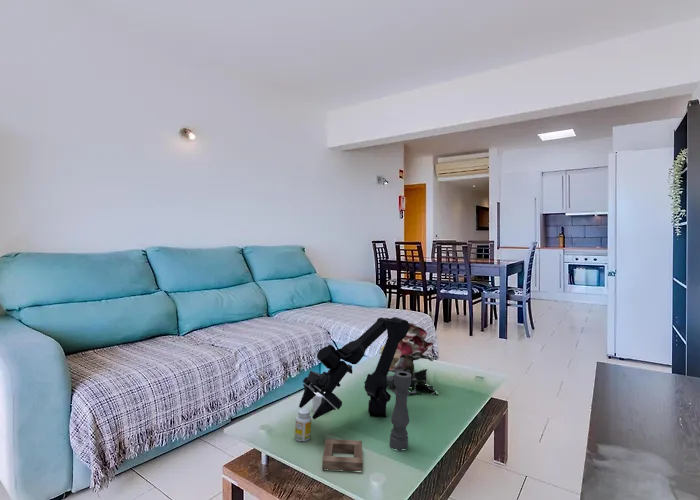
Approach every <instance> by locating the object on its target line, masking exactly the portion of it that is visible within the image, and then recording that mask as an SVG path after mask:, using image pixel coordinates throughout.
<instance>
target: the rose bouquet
mask: <svg viewBox="0 0 700 500" xmlns="http://www.w3.org/2000/svg"><path fill="white" fill-rule="evenodd" d="M408 323H409V325H410V328H409V331H408V333H407V335H406V336H405V338H403V339H402V340H401V341H400V342H399V344H398V347H397V350H396V352H395V355H394V358H393V360H392V363H391V366H390V368H389V371H388V374H387V388H388V389H389V390H390V391H391V392H392V393H394V390H395V389H396V387H395V384H394V375H389V372H390V373H391V372H392V373H395V372H397V371H405V372H408V373H410V374H411V385H410V387H412V390H413V391H412V392H409V393H410V394H418V393H419V392H420V390H419V391H418V390H417V387H416V386H421V387H426V388H427V389H428V390H431V391H432V392H431V393H430V395H436V394H435V393H436V392H435V391H436V390H435V389H433V387H434V386H432V385H431V386H427V385H425V384H426V382H427V371H428V368H427V369H425V368H423V369H420V370H419V371H415V363H414V361H418V360H422V359H423V360H424V359H425V360H428V361H430V362H434V359H433V358H431V357H430V356H429V355H425V354H424V353H426V352H428V353H429V352H431V350H429V348H430V347H431V346H434V342H430V341H426V338H427V336H428V334H429V333H428V332H427V331H426V330H425V329H424V328H423V327H420V326H419V325H416V324H417V323H413V322H408ZM384 346H385V344H384V345H382V347H380V353H379V354H380V355H379V358H380V357H381V354H382V351H383V349H384ZM427 383H428V382H427ZM410 394H409V395H410Z"/></svg>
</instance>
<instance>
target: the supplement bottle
mask: <svg viewBox="0 0 700 500" xmlns="http://www.w3.org/2000/svg"><path fill="white" fill-rule="evenodd" d="M310 414H311V411H310V409H309V408H306V407H302V408H299V409H298V411H297V415H296V417H295V428H294V430H295V431H294V438H295V440H296V441H298V442H301V441H303V442H306V441H307V442H308V440H310V438H311V434H312V430H311V429H312V416H311V415H310Z"/></svg>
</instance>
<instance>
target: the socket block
mask: <svg viewBox="0 0 700 500" xmlns="http://www.w3.org/2000/svg"><path fill="white" fill-rule="evenodd" d="M333 453H338V454H339V453H340V454H353V457H351V456H335V455H333ZM322 469H326V470H325V471H327V469H328V470H343V471H362V472H363V441H362V440H353V439H341V438H340V439H337V438H334V439H333V438H325V442H324V449H323V457H322V468H321V470H322ZM343 471H342V472H343Z"/></svg>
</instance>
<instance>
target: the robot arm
mask: <svg viewBox="0 0 700 500" xmlns="http://www.w3.org/2000/svg"><path fill="white" fill-rule="evenodd" d="M409 323H410V322H409V321H408V320H406V319H402V318H401V317H397V316H394V317H391V318H390V317H378V318H377V320H376V321H375V322H374V323H373V324H372V325H370V327H368V329H367V330H366V331H365V332H364V333H362V334H361V335H360V336H359V337H357V339H355V340H351V341H349V342H347V343H346V344H345V345H343V346H342V347H341V348H337V349H336V348H335V346H333V345H332V344H328V345H327V346H324V347H322V348H320V349H319V351H318V352H317V354H316V358H317V360H318V361H319V362H320V363H321V364H322V365H323V366H324V367H325V368H326V369H328V370H327V371H323V372H322V373H319V372H316V371H313V370H310V371H309V372H308V376H305V377H304V379H303V380H302V381H301V382H302V383H303V384H302V386H303V394H302V397H301V400H300V401H299V405H298V407H299V409H301V408H304V406H306V405H307V404H308V403H309V402H310V401H311V400H312V398H313V397H315V396H316V394H315V393H317V392H318V393H320V394H321V395H322V396H324V397H325V398H326V400H325V399H324V398H323V397H322V401H321V404H320V406H319V407H318V409H317V410H316V412H313V415H312V416H311V419H313V420H316V419H318V418H320V417H321V416H323V415H325V414H327V413H329V412H332V411H336V410H340V408H341V407H343V401H342V399H340V398H339V396H337V395H336V394H335V393H333V391H335V389H336V388H337V387H338V388H339V387H340V386H341V384H340V383H341V382H342V380H343V378H344V377H345V376H346V374H347V373H349V374H351V375H352V374H353V365H357V364H359V362H360V361H361V360H362V358H364V357H365V353H366V350H367V349H368V348H369V347H370V346H371V345H372V344H373V343H374V342H375V341H376V340H377V339H379V337H380V336H381V335H382V334H383V333H384V332H386V333H387V338H386V342H385V343H384V345H385V346H384V345H383V346H384V349H383V351H382V354H380V356H381V357H380V356H379V360H378V362H377V365H376V367H375V370H374V372H372V373H368V374H367V375H366V379H365V381H364V386H363V387H364V388H363V389H364V391H365V392H366V396H367V397H370V399H369V400H368V407H367V408H368V409H367V412H368V413H369V417H371V418H387V403H388V402H390V401H391V397H392V395H391V394H390V393H389V392H388V391H387V388H388V387H387V376H388V375H389V372H390V371H389V368H390V366H391V363H392V360H393V358H394V355H395V352H396V350H397V347H398V344H399V342H400V341H401V340H402V339H403V338H405V336H406V335H407V333H408V331H409V328H410V325H409ZM348 363H349V364H348ZM388 371H389V372H388ZM387 374H388V375H387ZM314 392H315V393H314ZM324 392H325V393H324Z"/></svg>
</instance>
